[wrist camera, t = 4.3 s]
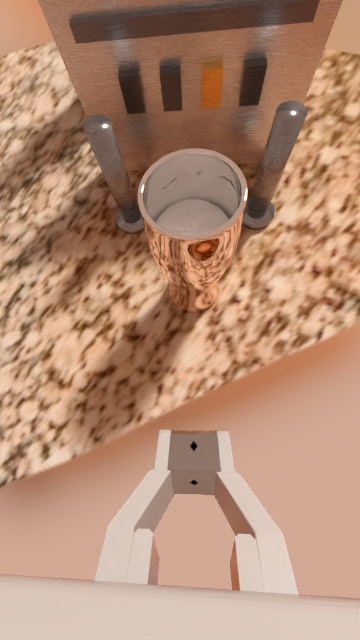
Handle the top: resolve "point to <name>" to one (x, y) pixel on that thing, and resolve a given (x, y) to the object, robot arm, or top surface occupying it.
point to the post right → (273, 163)
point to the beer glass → (193, 221)
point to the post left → (114, 172)
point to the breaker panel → (190, 68)
